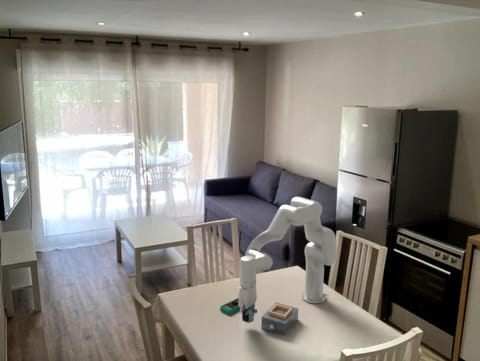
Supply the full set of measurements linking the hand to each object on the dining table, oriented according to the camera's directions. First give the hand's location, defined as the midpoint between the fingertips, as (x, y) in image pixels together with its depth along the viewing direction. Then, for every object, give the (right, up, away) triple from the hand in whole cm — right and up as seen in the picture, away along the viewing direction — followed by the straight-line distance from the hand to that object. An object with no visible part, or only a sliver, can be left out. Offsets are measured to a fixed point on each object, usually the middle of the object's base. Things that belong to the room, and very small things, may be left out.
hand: (248, 317), depth 203 cm
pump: (0, -1, 0) cm, 1 cm away
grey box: (+15, -4, +4) cm, 16 cm away
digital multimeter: (-7, -2, +20) cm, 21 cm away
